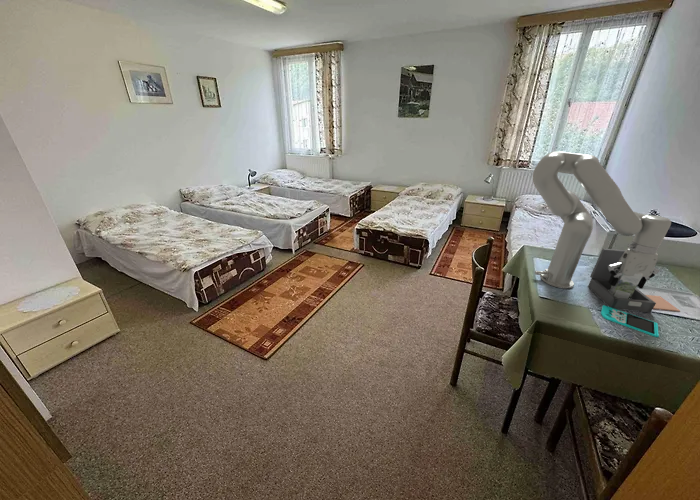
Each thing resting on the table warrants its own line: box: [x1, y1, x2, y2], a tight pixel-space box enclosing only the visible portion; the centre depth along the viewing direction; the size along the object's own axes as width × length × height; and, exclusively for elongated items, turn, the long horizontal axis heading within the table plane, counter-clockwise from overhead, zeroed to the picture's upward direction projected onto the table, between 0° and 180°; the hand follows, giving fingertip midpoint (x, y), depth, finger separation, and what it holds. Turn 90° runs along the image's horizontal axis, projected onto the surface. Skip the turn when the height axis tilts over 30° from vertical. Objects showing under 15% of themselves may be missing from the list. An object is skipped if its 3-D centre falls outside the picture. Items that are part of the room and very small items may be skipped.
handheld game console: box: [600, 304, 660, 338], centre depth 107 cm, size 10×16×1 cm, turn 47°
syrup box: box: [609, 272, 643, 299], centre depth 116 cm, size 6×6×14 cm
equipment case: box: [587, 248, 656, 314], centre depth 116 cm, size 14×18×18 cm
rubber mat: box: [645, 294, 681, 313], centre depth 117 cm, size 10×10×1 cm
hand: (624, 285), depth 116 cm, fingers open, 9 cm apart
